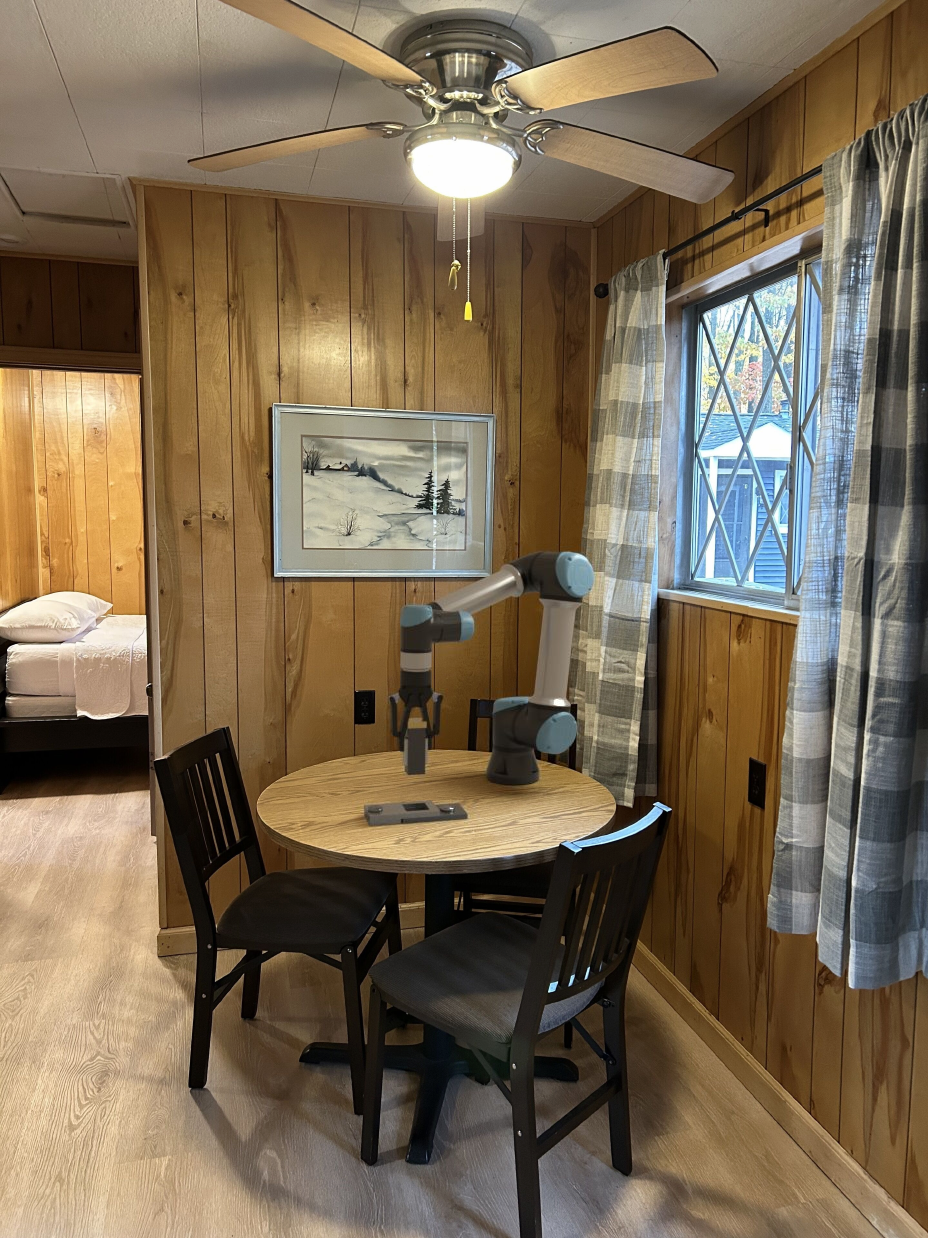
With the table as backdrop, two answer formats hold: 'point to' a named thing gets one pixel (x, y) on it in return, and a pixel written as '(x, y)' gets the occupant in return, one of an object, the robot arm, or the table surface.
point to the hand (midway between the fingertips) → (414, 763)
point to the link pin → (416, 746)
